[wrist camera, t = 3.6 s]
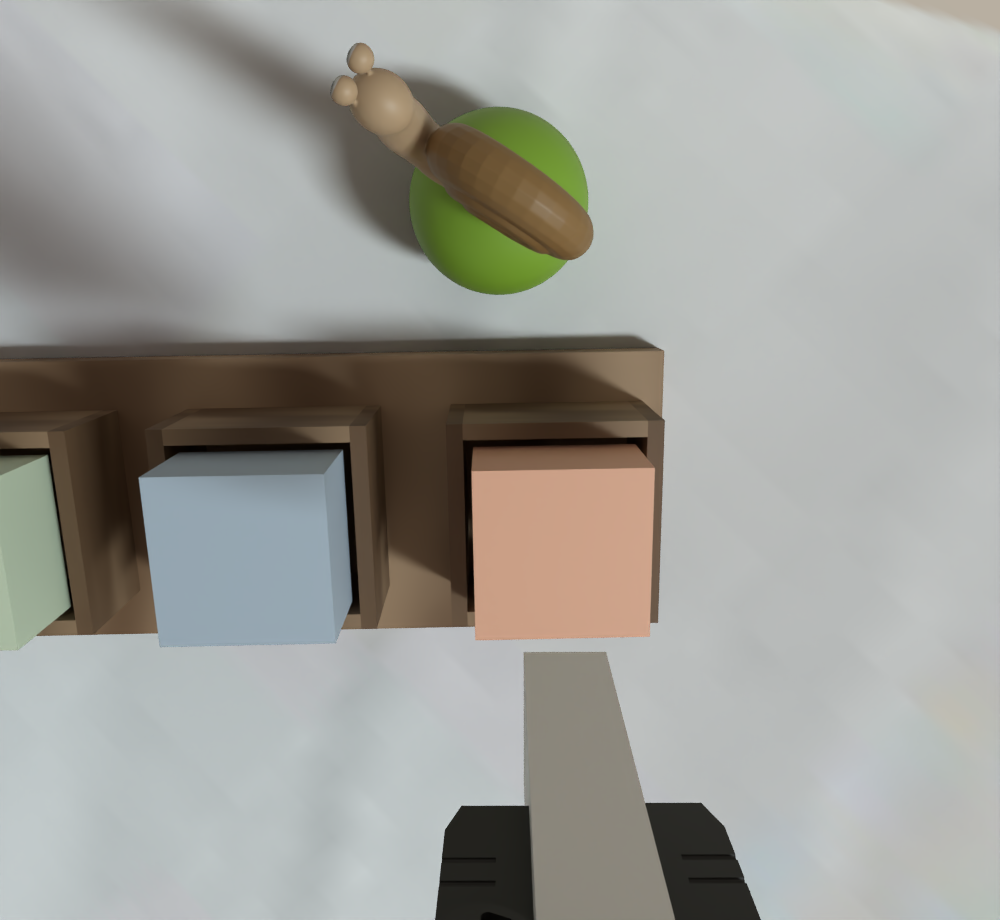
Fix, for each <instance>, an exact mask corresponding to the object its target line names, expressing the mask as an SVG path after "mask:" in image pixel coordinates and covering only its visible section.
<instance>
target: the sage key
mask: <svg viewBox="0 0 1000 920" xmlns="http://www.w3.org/2000/svg"><path fill="white" fill-rule="evenodd" d="M70 607H71V604H70V597H69V590H68V584H67V577H66V571H65V564H64V557H63V551H62V544H61V538H60V531H59V524H58V518H57V511H56V505H55V498H54V491H53V485H52V478H51V472H50V465H49V458H48V455H9V456H0V651H2V650H19V649H20V648H22V647H23V646H24V645H25V644H26V643H28V642H29V641H30V640H31V639H32V638H34V637H35V636H36V635H37V634H38V633H40V632H41V631H42V630H43V629H45V628H46V627H47V626H48V625H49V624H51V623H52V622H53V621H54V620H55V619H57V618H58V617H59V616H60V615H61V614H63V613H64V612H65V611H66V610H67V609H69V608H70Z"/></svg>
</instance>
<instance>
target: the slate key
mask: <svg viewBox="0 0 1000 920" xmlns="http://www.w3.org/2000/svg"><path fill="white" fill-rule="evenodd" d="M139 485H140V493H141V501H142V509H143V517H144V525H145V533H146V541H147V549H148V557H149V565H150V573H151V581H152V589H153V597H154V605H155V613H156V621H157V629H158V637H159V645H160V647H187V646H234V645H280V644H327V643H336V641H337V639H338V636H339V633H340V631H341V628H342V626H343V623H344V621H345V618H346V616H347V613H348V611H349V608H350V606H351V603H352V586H351V570H350V554H349V538H348V522H347V506H346V490H345V474H344V458H343V449H334V450H280V451H226V452H179V453H178V454H176V455H174V456H173V457H171V458H169V459H168V460H166V461H165V462H163V463H161V464H160V465H158V466H157V467H155V468H153V469H152V470H150V471H148V472H147V473H145V474H144V475H142V476H140V477H139Z"/></svg>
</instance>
